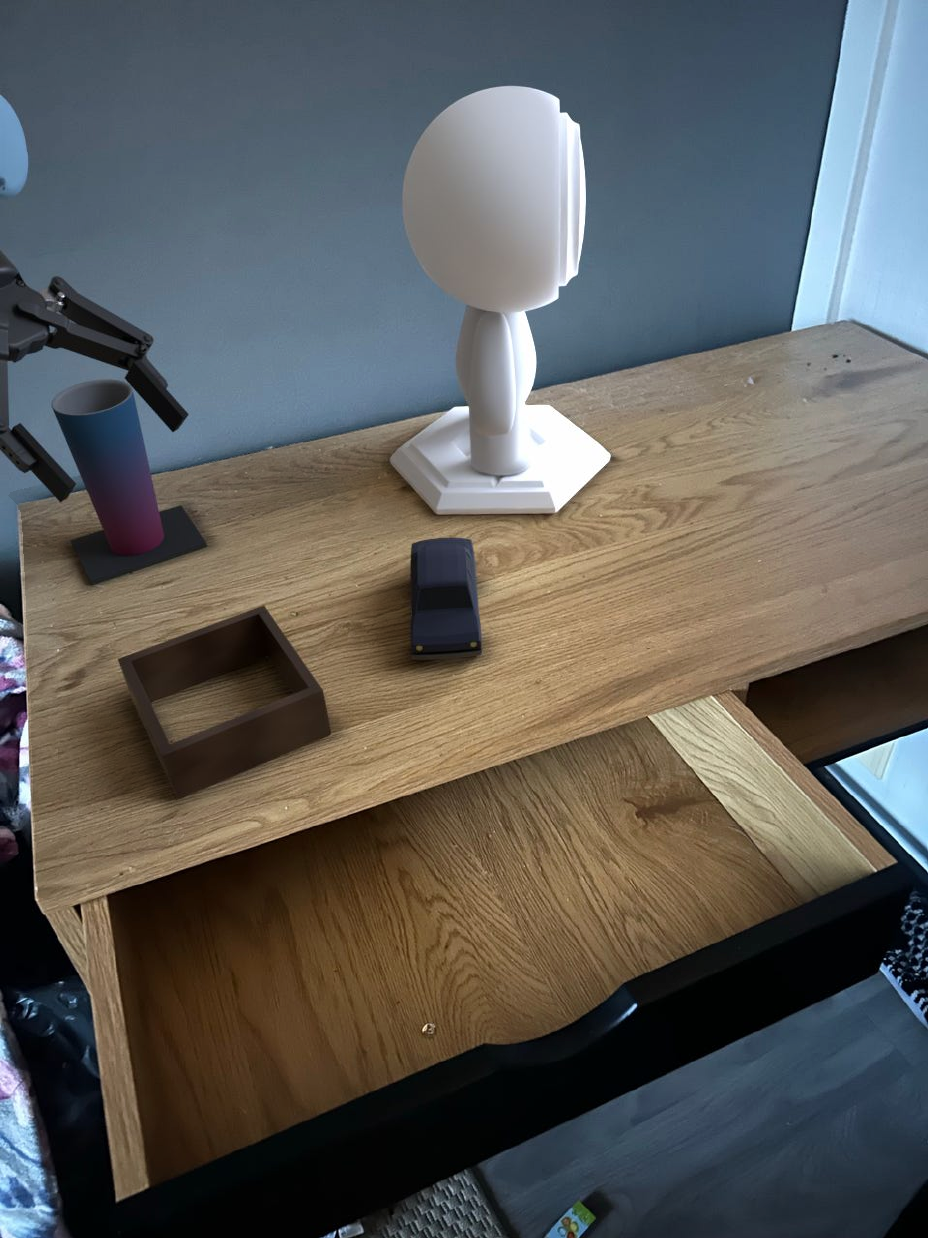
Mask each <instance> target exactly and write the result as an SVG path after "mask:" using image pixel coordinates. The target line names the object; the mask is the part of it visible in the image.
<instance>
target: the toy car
mask: <svg viewBox="0 0 928 1238" xmlns="http://www.w3.org/2000/svg"><path fill="white" fill-rule="evenodd" d="M475 558H476V557H475V551H474V546H473V540H472V539H471V538H464V537H438V538H428V539H423V540H419V541H416V542H413V543H411V549H410V563H409V564H410V565H409V568H410V627H409V629H410V631H409V632H410V644H411V647H410V648H411V649H409V652H410V654H411V657H412V659H413V660H415V661H416V660H417V661H418V660H419V661H422V660H423V661H425V660H429V661H430V660H447V659H448V660H449V659H450V660H451V659H460V658H467V657H468V658H469V657H478V656H481V655H482V654H483V650H484V646H482V624H481V618H480V612H479V611H480V609H479V595H478V581H477V570H476V569H477V568H476V559H475Z"/></svg>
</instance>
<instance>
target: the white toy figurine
mask: <svg viewBox="0 0 928 1238" xmlns="http://www.w3.org/2000/svg"><path fill="white" fill-rule="evenodd" d="M560 107H561V106H560V99H559V98H558V97H557V96H555V95H554V94H552V93H549V92H546V91H544V90H540V89H538V88H537V89H536V88H533V87H528V86H522V85H521V86H519V85H504V86H503V85H502V86H495V87H488V88H485V89H481V90H478V91H475V92H473V93H470V94H468V95H466V96H464V97H462V98H459V99H458V100H456V101H454V103H452V104H450V105H449V106H448V107H446V108H445V109H444V110H443V111H441V112H440V113H439V114H438V115H437V116H436V117H435V118H434V119H433V120H432V121H431V122H430V123H429V124H428V126H427V127H426V128H425V130H424V131H423V133H422V134H421V135H420V137H419V139H418V141H417V142H416V144H415V146H414V148H413V150H412V152H411V155H410V157H409V160H408V162H407V165H406V168H405V173H404V179H403V184H402V193H401V209H402V219H403V224H404V225H403V226H404V230H405V234H406V237H407V241H408V243H409V246H410V248H411V250H412V253H413V255H414V256H415V258H416V260H417V262H418V264H419V265H420V267H421V268H422V269H423V271H424V272H425V274H426V275H427V276H428V277H429V279H430V280H431V281H432V282H433V283H434V284H435V285H436V286H437V287H438V288H439V289H441V290H442V291H443V292H444V293H446V294H447V295H448V296H450V297H452V298H453V299H455V300H456V301H459V302H460V303H463V304H464V305H466V306H465V309H464V312H463V317H462V320H461V326H460V329H459V335H458V340H457V345H456V350H455V373H456V377H457V380H458V381H457V382H458V385H459V389H460V391H461V393H462V395H463V397H464V400H465V401H466V404H467V406H454V407H452V408H451V409H450V410H448V411H447V412H446V413H444V414H443V415H442V416H441V415H440V417H438V418H437V419H436V420H434V421H433V422H431V424H429V425H428V426H426V427H425V428H424V429H422V430H421V431H420V432H418V433H417V434H415V435H414V436H413V437H411V438H409V440H407V441H406V442H404V443H403V444H402V445H401V446H399V447H398V448H397V449H396V451H395V452H394V453H393V454H392V455H391V456H390V457H389V462H390V465H391V466H392V467H393V468H394V469H395V470H396V471H397V472H398V473H399V475H400V476H401V478H403V479H404V480H405V481H406V483H407V484H408V485H409V486H410V487H411V488H412V489H413V490H414V491H415V492H416V493H417V495H418V496H419V497H420V498H421V499H422V500H423V501H424V502H425V503H426V504H427V505H428V507H429V508H430V509H431V510H432V511H433V512H434V513H435V514H436V515H520V514H521V515H522V514H525V515H527V514H529V515H531V514H534V515H535V514H537V515H538V514H556V513H558V511H559V510H560V509H562V508H563V506H565V504H567V503H568V502H569V501H570V500H571V499H572V498H573V497H574V496H575V495H576V494H577V493H578V492H579V491H580V490H581V489H582V488H583V487H584V486H585V485H586V484H587V483H589V481H590V480H591V479H592V478H594V477H595V476H596V474H598V472H600V470H601V469H603V468H604V466H606V465H607V464H608V463H609V462H610V461H611V454H610V452H608V451H607V450H606V449H605V448H604V446H603V445H601V444H600V443H599V442H598V441H596V440H595V439H594V438H592V437H591V436H590V435H589V434H588V433H586V432H584V430H582V429H581V428H580V427H578V426H577V425H575V424H574V423H573V422H572V421H570V419H568V418H567V417H565V416H564V415H562V414H561V413H560V412H559V411H558V410H556V409H555V408H554V407H552V406H551V405H549V404H532V405H529V404H526V400H527V399H528V397H529V395H530V393H531V390H532V388H533V386H534V382H535V379H536V370H537V354H536V348H535V343H534V342H535V341H534V338H533V335H532V332H531V328H530V324H529V321H528V318H527V315H526V312H528V311H532V310H536V309H539V308H542V307H544V306H547V305H550V304H552V303H553V302H555V301H556V300H558V299H559V293H560V292H559V288H560V287H566V286H567V285H568V283H569V281H570V280H571V279H572V278H574V277H576V276H577V275H578V274H579V263H580V260H581V259H580V258H581V255H582V247H583V240H584V233H585V222H586V199H587V198H586V197H587V196H586V175H585V174H586V172H585V163H584V153H583V147H582V141H581V129H580V128H581V127H580V123H578V122H575V121H573V120H572V119H571V117H570V115H569V114H568V112H561V111H560V109H561V108H560Z"/></svg>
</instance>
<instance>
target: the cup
mask: <svg viewBox="0 0 928 1238" xmlns="http://www.w3.org/2000/svg"><path fill="white" fill-rule="evenodd" d="M50 406H51V408H52V411H53V414H54V416H55V418H56V421H57V423H58V425H59V427H60V430H61V433H62V435H63V437H64V440H65V442H66V445H67V447H68V449H69V451H70V454H71V456H72V459H73V461H74V463H75V465H76V468H77V470H78V473H79V475H80V478H81V481H82V482H83V485H84V487H85V489H86V492H87V495H88V497H89V500H90V501H91V503H92V506H93V508H94V511H95V514H96V516H97V518H98V521H99V523H100V525H101V528H102V530H104V533H105V535H106V537H107V540H108V542H109V545H110V547H111V549H112V550H113V552H115V553H117V554H120V555H124V556H133V555H139V554H143V553H146V552H149V551H151V550H153V549H155V548H156V547H157V546H159V545H160V544H161V542H162V541H163V538H164V533H163V528H162V523H161V519H160V514H159V512H160V511H159V506H158V500H157V497H156V491H155V487H154V482H153V477H152V471H151V468H150V464H149V459H148V454H147V449H146V445H145V441H144V436H143V430H142V427H141V421H140V417H139V412H138V407H137V403H136V398H135V393H134V388H133V387H132V386H131V385H130V384H129V383H128V382H127V381H123V380H120V379H111V378H109V379H107V378H106V379H94V380H89V381H84V382H80V383H77V384H74V385H71V386H69V387H67V388H65V389H63V390H61V391H60V392H58V393H56V395H55V396H54V397H53V399H52V400H51V404H50Z"/></svg>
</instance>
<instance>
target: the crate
mask: <svg viewBox="0 0 928 1238" xmlns="http://www.w3.org/2000/svg"><path fill="white" fill-rule="evenodd" d="M265 658H269V659H270V661H271V663H272V664H273V665H274V667H275V669H276V670H277V672H278V673H279V675H280V676H281V678H282V680H283V681H284V682H285V684H286V685H287V687H288V688H289V690H290V692H291V693H292V694H291V695H288V696H285V697H283V698H281V699H278V700H275V701H273V702H270V703H268V704H266V705H263V706H260V707H258V708H256V709H253V710H251V711H248V712H246V713H243V714H241V715H238V716H236V717H233V718H231V719H228V720H226V721H223V722H221V723H218V724H217V725H214V726H211V727H209V728H206V729H204V730H201V731H199V732H196V733H194V734H191V735H189V736H187V737H185V738H181V739H179V740H177V741H174V742H171V743H170V741H169V738H168V736H167V734H166V732H165V730H164V728H163V726H162V724H161V722H160V720H159V718H158V716H157V714H156V711H155V708H154V707H153V705H152V703H151V702H155V701H156V700H159V699H163V698H164V697H168V696H169V695H172V694H175V693H177V692H180V691H183V690H185V689H188V688H190V687H192V686H195V685H198V684H201V683H203V682H206V681H208V680H211V679H214V678H217V677H219V676H221V675H224V674H226V673H229V672H231V671H234V670H236V669H237V670H238V669H239V668H242V667H244V666H246V665H250V664H253V663H255V662H258V661H260V660H262V659H265ZM117 662H118V664H119V667H120V671H121V673H122V676H123V678H124V681H125V684H126V686H127V689H128V692H129V694H130V698H131V700H132V703H133V705H134V708H135V709H136V711H137V713H138V717H139V719H140V720H141V723H142V725H143V727H144V730H145V731H146V733H147V736H148V738H149V740H150V742H151V744H152V747H153V749H154V752H155V753H156V755H157V758H158V760H159V762H160V764H161V767H162V768H163V771H164V773H165V775H166V777H167V780H168V782H169V785H170V786H171V789H172V790H173V793H174V795H175V798H176V800H181V799H183V798H185V797H188V796H190V795H192V794H194V793H197V792H199V791H201V790H205V789H207V788H210V787H211V786H213V785H216V784H218V783H220V782H222V781H225V780H228V779H230V778H232V777H234V776H237V775H239V774H241V773H244V772H247V771H249V770H251V769H253V768H256V767H258V766H260V765H262V764H264V763H267V762H270V761H272V760H274V759H276V758H278V757H282V756H283V755H285V754H288V753H291V752H292V751H295V750H297V749H300V748H302V747H305V746H307V745H309V744H312V743H314V742H317V741H318V740H321V739H323V738H326V737H328V736H330V735H332V729H331V723H330V718H329V714H328V708H327V704H326V703H327V702H326V698H325V693H324V689H323V688H322V686H321V684H320V683H319V682H318V681H317V679H316V677H314V675H313V674H312V672H311V670H310V669H309V667H308V666H307V665H306V663H305V662H304V661H303V659H302V658H301V656H300V655H299V653H298V651H296V649H295V647H294V646H293V644H292V643H291V642H290V640H289V639H288V638H287V636H286V634H285V633H284V632H283V630H282V629H281V628H280V626H279V625H278V623H277V622H276V620H275V619H274V618H273V616H272V614H271V613H270V611H269V610H268V609H267V607H266V606H265V605H261V606H258V607H256V608H253V609H250V610H247V611H245V612H241V613H239V614H236V615H233V616H231V617H228V618H226V619H223V620H220V621H217V622H214V623H211V624H208V625H206V626H203V627H201V628H198V629H195V630H192V631H189V632H187V633H185V634H182V635H179V636H176V637H173V638H171V639H168V640H165V641H163V642H159V643H157V644H155V645H152V646H149V647H146V648H143V649H141V650H138V651H135V652H133V653H130V654H127V655H124V656H121V657H119V658H117Z"/></svg>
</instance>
